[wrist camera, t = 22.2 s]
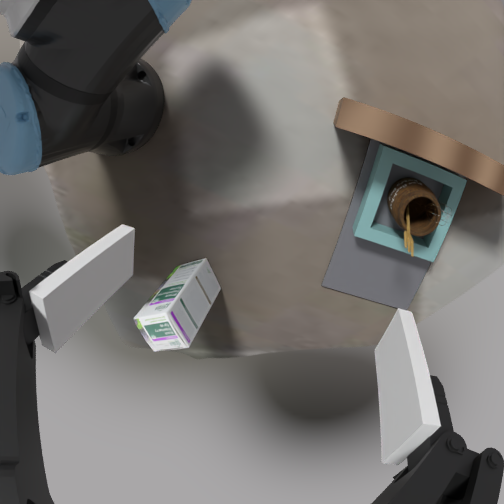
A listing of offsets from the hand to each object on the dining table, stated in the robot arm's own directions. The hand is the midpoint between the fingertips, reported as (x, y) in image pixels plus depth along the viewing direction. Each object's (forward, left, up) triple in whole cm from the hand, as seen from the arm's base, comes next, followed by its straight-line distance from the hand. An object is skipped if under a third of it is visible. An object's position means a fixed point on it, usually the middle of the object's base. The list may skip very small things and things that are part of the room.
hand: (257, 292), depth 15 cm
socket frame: (+14, +1, -29) cm, 32 cm away
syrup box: (-11, -20, -29) cm, 37 cm away
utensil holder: (+14, +1, -28) cm, 32 cm away
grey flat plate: (+14, -4, -29) cm, 32 cm away
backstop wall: (+14, +9, -29) cm, 33 cm away
